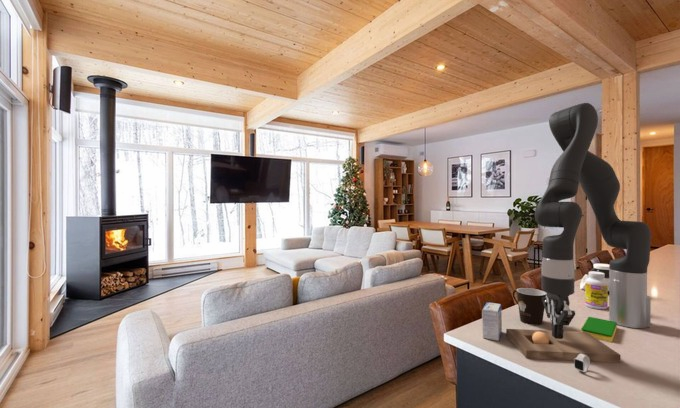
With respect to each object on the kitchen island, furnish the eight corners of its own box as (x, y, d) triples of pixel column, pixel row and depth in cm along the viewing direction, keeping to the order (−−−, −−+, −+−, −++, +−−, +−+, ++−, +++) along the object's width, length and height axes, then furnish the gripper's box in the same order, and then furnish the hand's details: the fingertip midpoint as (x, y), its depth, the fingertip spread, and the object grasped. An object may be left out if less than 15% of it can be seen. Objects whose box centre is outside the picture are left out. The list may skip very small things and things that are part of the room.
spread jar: (622, 295, 136) (622, 267, 136) (594, 295, 136) (594, 267, 136) (599, 287, 148) (600, 261, 148) (574, 287, 148) (574, 262, 148)
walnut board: (586, 338, 96) (586, 331, 96) (620, 362, 82) (620, 354, 82) (506, 335, 99) (506, 328, 99) (526, 358, 85) (526, 350, 85)
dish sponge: (581, 336, 98) (581, 328, 98) (588, 323, 108) (588, 316, 108) (611, 343, 93) (612, 335, 93) (616, 329, 103) (616, 321, 103)
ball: (526, 334, 93) (536, 345, 93) (533, 341, 89) (543, 352, 89) (538, 326, 93) (547, 337, 92) (545, 332, 89) (555, 343, 88)
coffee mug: (551, 327, 104) (551, 296, 104) (521, 325, 106) (521, 294, 106) (536, 314, 116) (536, 286, 115) (510, 313, 117) (510, 285, 117)
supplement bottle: (588, 308, 121) (588, 273, 121) (582, 303, 127) (582, 270, 127) (610, 310, 118) (610, 275, 118) (603, 305, 124) (604, 271, 124)
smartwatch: (581, 367, 80) (581, 350, 80) (592, 371, 78) (592, 354, 78) (573, 371, 78) (573, 354, 78) (584, 375, 76) (583, 358, 76)
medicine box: (498, 341, 95) (498, 311, 94) (482, 338, 97) (482, 309, 97) (501, 331, 101) (501, 303, 101) (486, 328, 104) (486, 301, 104)
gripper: (587, 281, 83) (587, 349, 83) (559, 269, 96) (559, 328, 96) (555, 280, 84) (555, 347, 84) (532, 269, 97) (531, 327, 97)
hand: (557, 337), depth 90 cm, fingers closed
